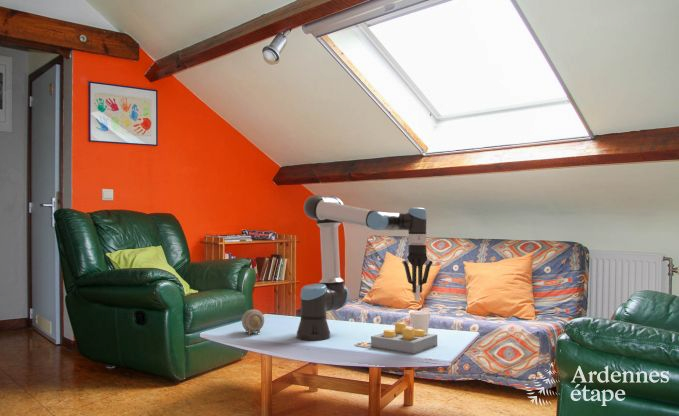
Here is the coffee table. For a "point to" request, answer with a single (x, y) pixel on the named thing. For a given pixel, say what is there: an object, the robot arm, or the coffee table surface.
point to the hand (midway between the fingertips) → (417, 300)
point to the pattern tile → (363, 344)
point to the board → (404, 343)
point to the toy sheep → (253, 321)
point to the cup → (420, 320)
